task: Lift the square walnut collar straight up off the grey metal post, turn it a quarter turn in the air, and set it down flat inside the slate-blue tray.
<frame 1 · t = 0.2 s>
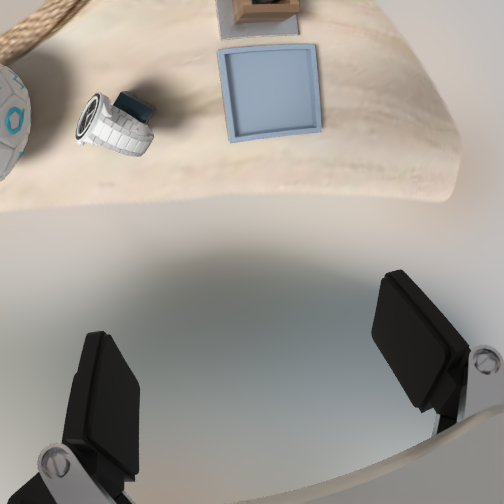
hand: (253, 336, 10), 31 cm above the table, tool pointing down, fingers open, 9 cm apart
watch: (128, 119, 32), on the table
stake: (254, 4, 28), on the table
puzzle ball: (5, 116, 27), on the table
collar: (256, 1, 27), point 1 cm above the table, touching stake
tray: (269, 90, 34), on the table
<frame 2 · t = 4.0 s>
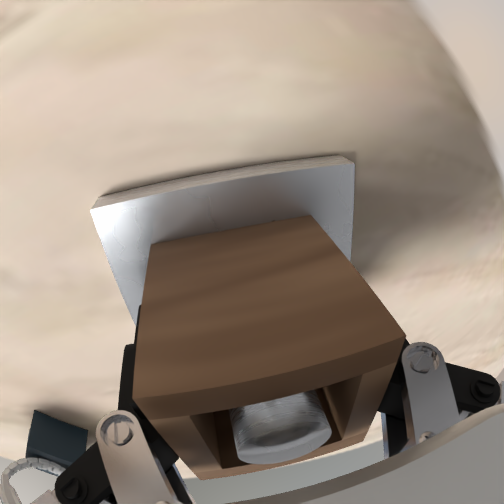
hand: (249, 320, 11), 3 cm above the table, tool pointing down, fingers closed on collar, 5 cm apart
watch: (55, 430, 18), on the table
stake: (237, 275, 13), on the table
collar: (241, 293, 12), point 1 cm above the table, touching gripper, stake
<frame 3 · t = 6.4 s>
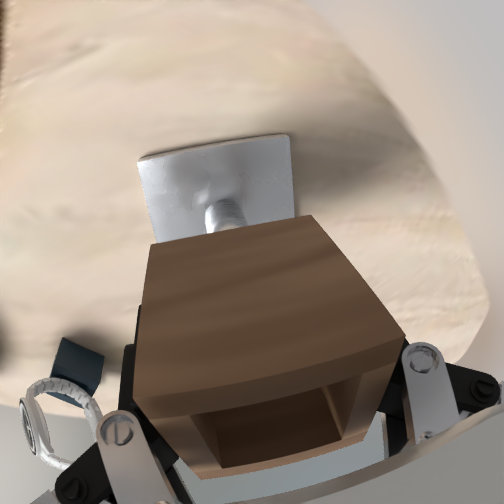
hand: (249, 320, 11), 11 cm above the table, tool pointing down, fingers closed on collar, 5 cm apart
watch: (76, 361, 25), on the table
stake: (222, 210, 20), on the table
collar: (241, 293, 12), point 10 cm above the table, touching gripper
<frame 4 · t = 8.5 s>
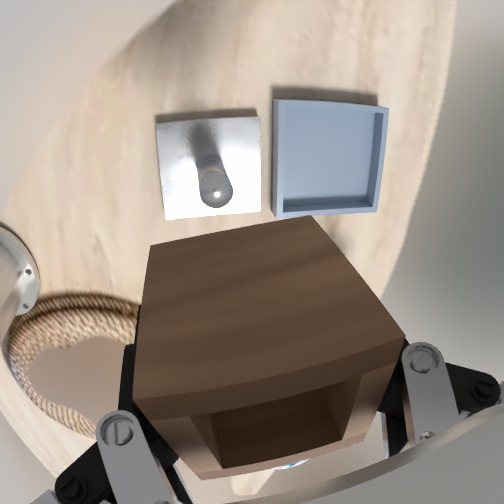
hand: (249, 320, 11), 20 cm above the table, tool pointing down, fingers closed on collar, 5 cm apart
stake: (209, 165, 28), on the table
collar: (242, 293, 12), point 19 cm above the table, touching gripper
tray: (326, 155, 30), on the table
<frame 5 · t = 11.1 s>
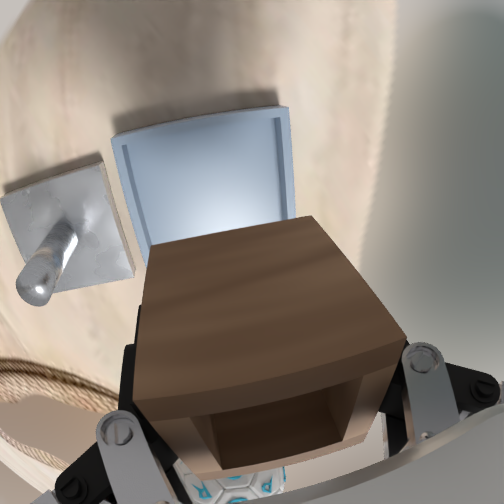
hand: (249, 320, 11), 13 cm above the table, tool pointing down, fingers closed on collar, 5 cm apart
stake: (67, 231, 21), on the table
puzzle ball: (218, 429, 39), on the table
collar: (242, 294, 12), point 12 cm above the table, touching gripper
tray: (210, 192, 22), on the table
when the fingers open (3 cm above the table, at t = 13.3 s): collar drops 1 cm, resting on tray.
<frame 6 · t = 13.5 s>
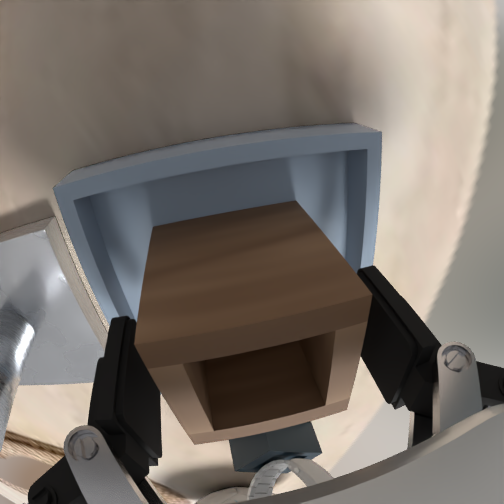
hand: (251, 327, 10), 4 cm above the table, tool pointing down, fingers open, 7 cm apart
watch: (269, 430, 23), on the table
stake: (22, 313, 13), on the table
puzzle ball: (231, 488, 31), on the table
collar: (234, 272, 13), resting on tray
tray: (234, 265, 14), on the table
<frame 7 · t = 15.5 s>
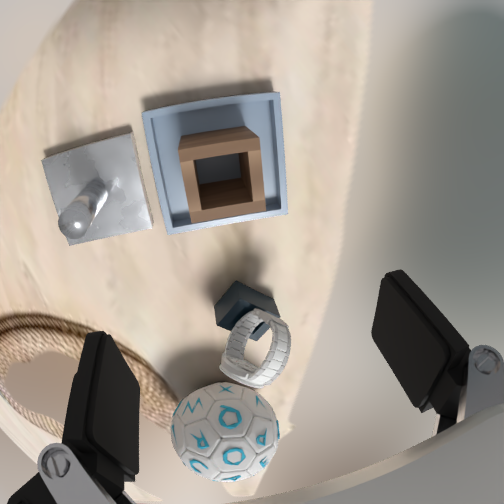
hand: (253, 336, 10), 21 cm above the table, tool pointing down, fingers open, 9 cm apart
watch: (243, 302, 36), on the table
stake: (98, 189, 26), on the table
puzzle ball: (218, 390, 45), on the table
collar: (217, 160, 27), resting on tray
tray: (217, 159, 27), on the table
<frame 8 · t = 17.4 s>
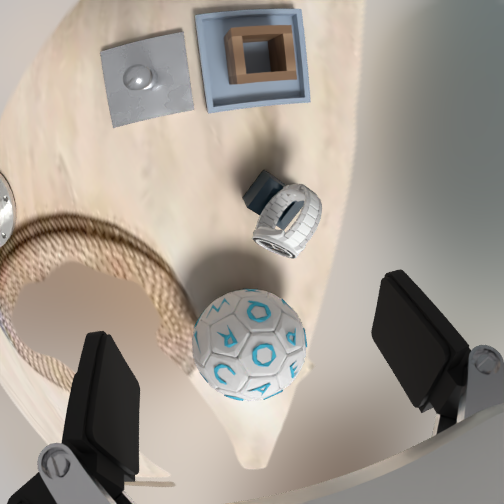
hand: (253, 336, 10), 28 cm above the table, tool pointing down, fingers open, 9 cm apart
watch: (270, 195, 39), on the table
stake: (147, 79, 28), on the table
puzzle ball: (239, 308, 47), on the table
collar: (252, 58, 29), resting on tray
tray: (251, 58, 29), on the table
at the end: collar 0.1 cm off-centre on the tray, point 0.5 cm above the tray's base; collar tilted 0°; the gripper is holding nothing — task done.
